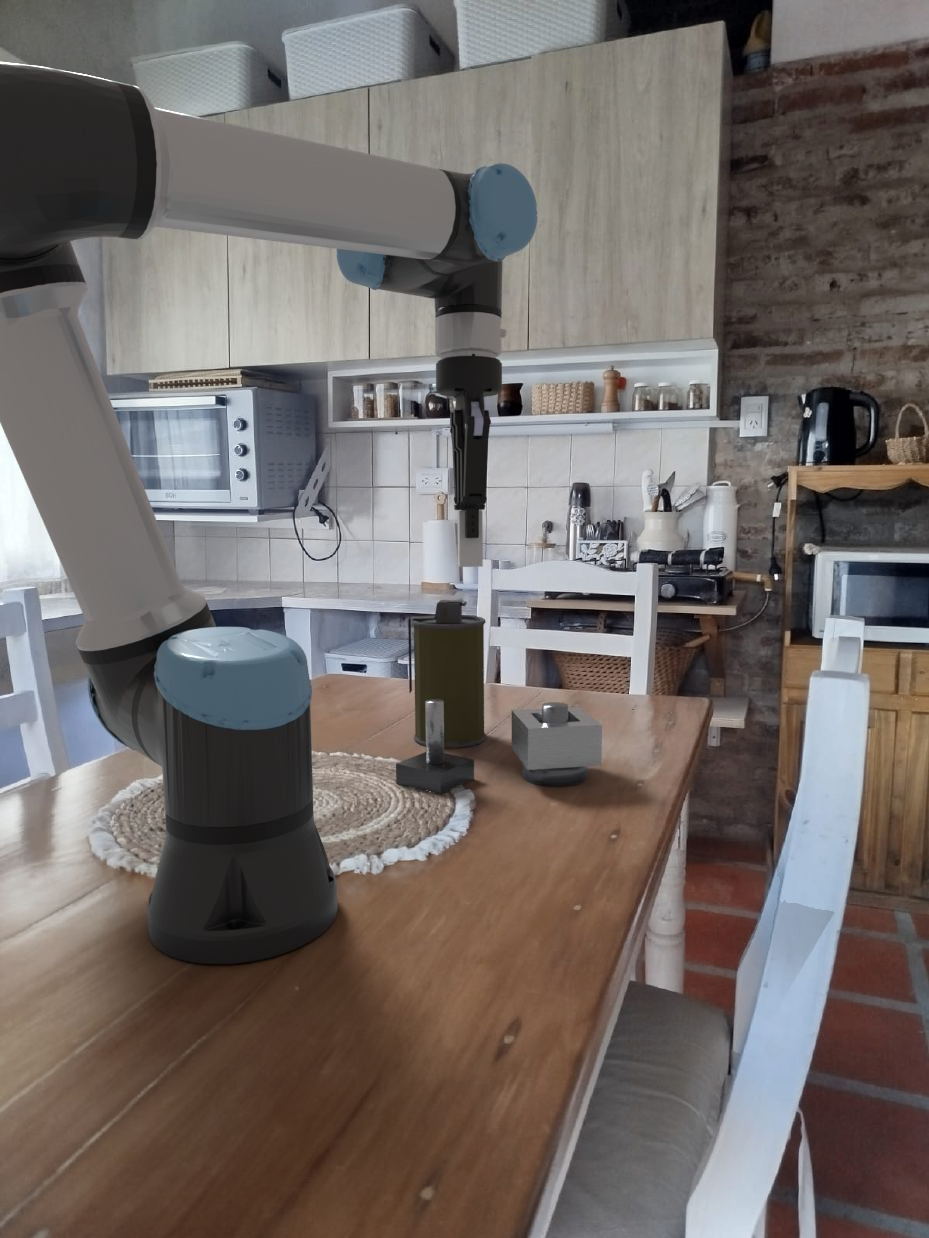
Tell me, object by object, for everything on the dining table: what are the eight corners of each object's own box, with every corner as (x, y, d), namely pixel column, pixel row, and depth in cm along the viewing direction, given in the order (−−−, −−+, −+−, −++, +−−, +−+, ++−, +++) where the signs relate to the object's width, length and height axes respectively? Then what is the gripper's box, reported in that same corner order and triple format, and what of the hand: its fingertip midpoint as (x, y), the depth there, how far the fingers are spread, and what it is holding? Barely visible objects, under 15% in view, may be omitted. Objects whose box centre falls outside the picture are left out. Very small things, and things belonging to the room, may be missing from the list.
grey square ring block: (528, 769, 100) (528, 728, 99) (511, 748, 108) (511, 710, 108) (601, 765, 101) (601, 724, 100) (579, 744, 110) (579, 706, 109)
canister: (488, 729, 127) (488, 597, 124) (483, 749, 116) (482, 605, 114) (416, 728, 128) (414, 596, 125) (405, 747, 117) (402, 605, 115)
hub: (567, 790, 99) (567, 716, 98) (510, 778, 104) (510, 707, 103) (598, 773, 106) (599, 703, 105) (543, 762, 111) (543, 695, 109)
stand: (440, 794, 99) (439, 710, 97) (396, 783, 103) (394, 703, 101) (474, 778, 104) (473, 699, 103) (430, 768, 108) (429, 692, 107)
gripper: (513, 349, 90) (513, 570, 93) (490, 368, 103) (490, 561, 106) (443, 347, 89) (446, 571, 92) (429, 367, 102) (431, 563, 105)
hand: (470, 566), depth 99 cm, fingers closed
